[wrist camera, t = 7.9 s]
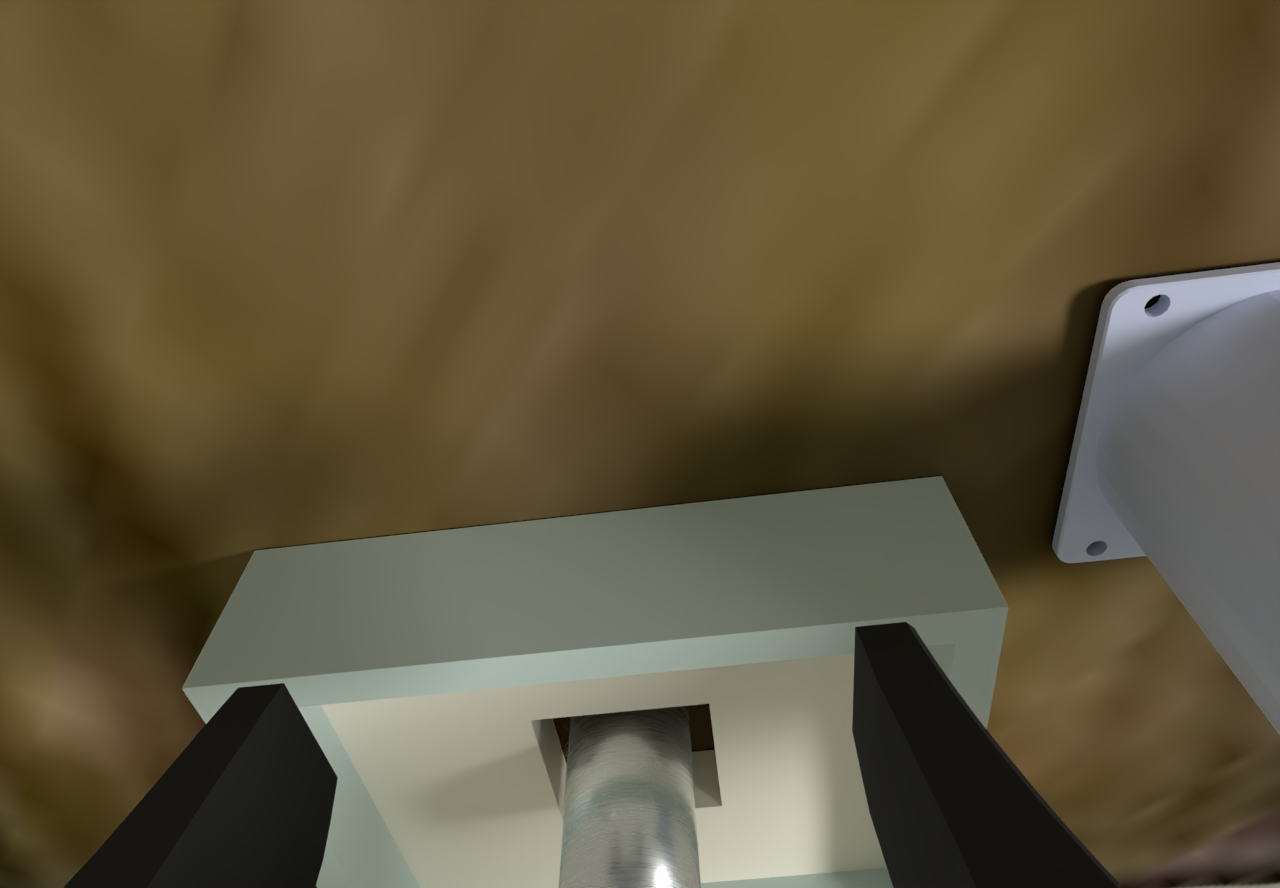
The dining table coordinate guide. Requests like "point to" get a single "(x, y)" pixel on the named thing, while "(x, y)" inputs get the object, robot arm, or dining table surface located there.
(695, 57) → the dining table surface
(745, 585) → the caddy
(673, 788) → the peg
